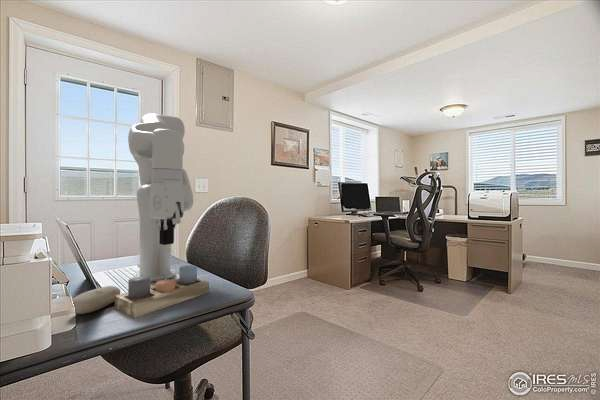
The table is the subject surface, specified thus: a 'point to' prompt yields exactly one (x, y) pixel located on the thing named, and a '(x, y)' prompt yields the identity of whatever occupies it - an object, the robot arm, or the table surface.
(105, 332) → the table surface
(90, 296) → the stone
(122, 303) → the birch board
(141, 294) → the charcoal button
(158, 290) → the terracotta button
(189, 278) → the slate button
